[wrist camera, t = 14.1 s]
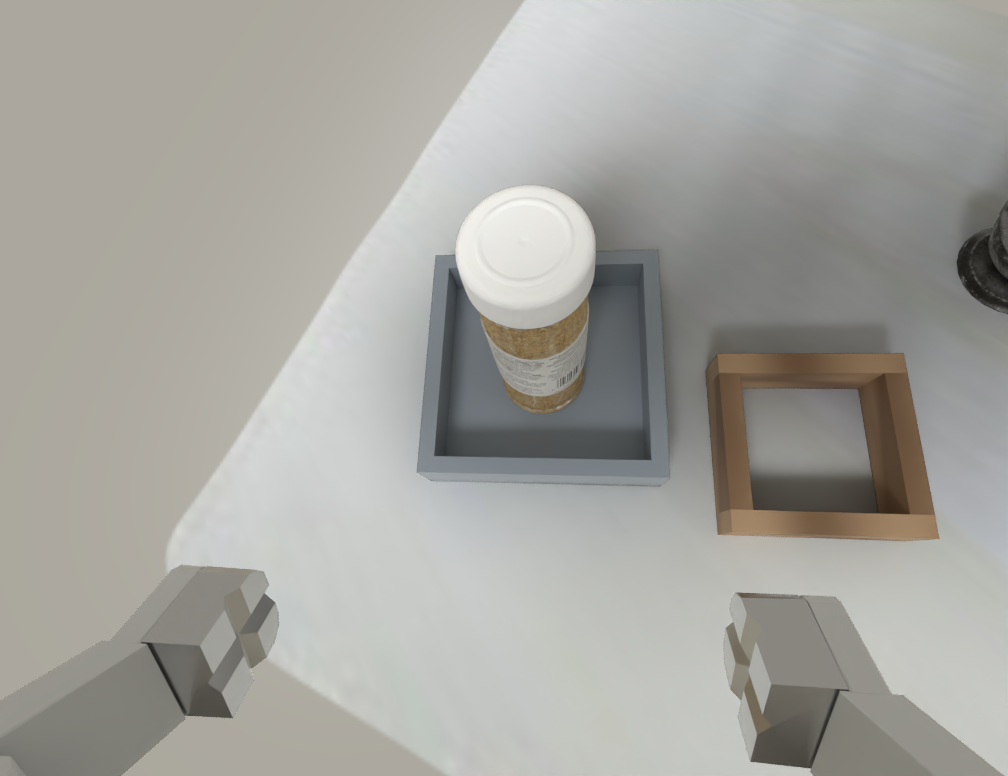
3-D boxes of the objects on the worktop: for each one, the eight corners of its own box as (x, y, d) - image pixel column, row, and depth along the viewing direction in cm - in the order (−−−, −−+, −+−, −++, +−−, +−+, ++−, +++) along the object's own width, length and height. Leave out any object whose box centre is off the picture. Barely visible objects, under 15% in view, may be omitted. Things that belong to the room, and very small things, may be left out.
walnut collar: (875, 370, 28) (903, 353, 26) (905, 540, 26) (939, 538, 24) (705, 370, 30) (717, 353, 27) (717, 534, 27) (732, 531, 25)
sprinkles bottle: (550, 323, 31) (536, 154, 18) (602, 382, 29) (628, 245, 17) (485, 371, 30) (425, 233, 18) (535, 434, 29) (509, 333, 16)
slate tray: (650, 277, 32) (658, 249, 29) (659, 486, 28) (670, 477, 25) (447, 281, 33) (435, 255, 30) (431, 480, 29) (416, 472, 27)
